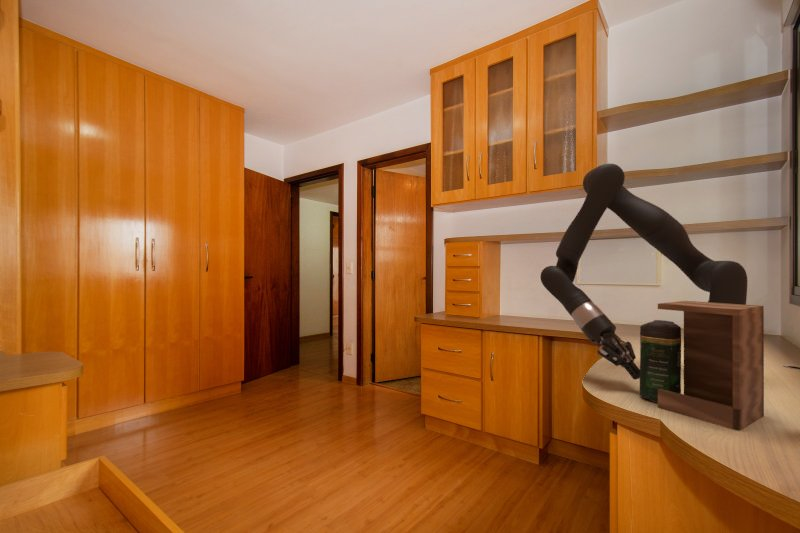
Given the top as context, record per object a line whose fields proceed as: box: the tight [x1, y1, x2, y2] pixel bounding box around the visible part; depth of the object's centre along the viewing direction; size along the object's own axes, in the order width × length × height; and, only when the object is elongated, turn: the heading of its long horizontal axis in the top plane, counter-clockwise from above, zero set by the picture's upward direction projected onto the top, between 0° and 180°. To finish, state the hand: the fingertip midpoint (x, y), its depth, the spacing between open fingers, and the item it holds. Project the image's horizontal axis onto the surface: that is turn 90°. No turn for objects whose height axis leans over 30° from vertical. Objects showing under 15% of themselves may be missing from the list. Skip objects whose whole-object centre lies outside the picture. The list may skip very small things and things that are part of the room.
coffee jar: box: [639, 319, 682, 404], centre depth 89 cm, size 10×8×19 cm
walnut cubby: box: [657, 300, 765, 431], centre depth 81 cm, size 14×14×23 cm
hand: (639, 377), depth 93 cm, fingers closed
